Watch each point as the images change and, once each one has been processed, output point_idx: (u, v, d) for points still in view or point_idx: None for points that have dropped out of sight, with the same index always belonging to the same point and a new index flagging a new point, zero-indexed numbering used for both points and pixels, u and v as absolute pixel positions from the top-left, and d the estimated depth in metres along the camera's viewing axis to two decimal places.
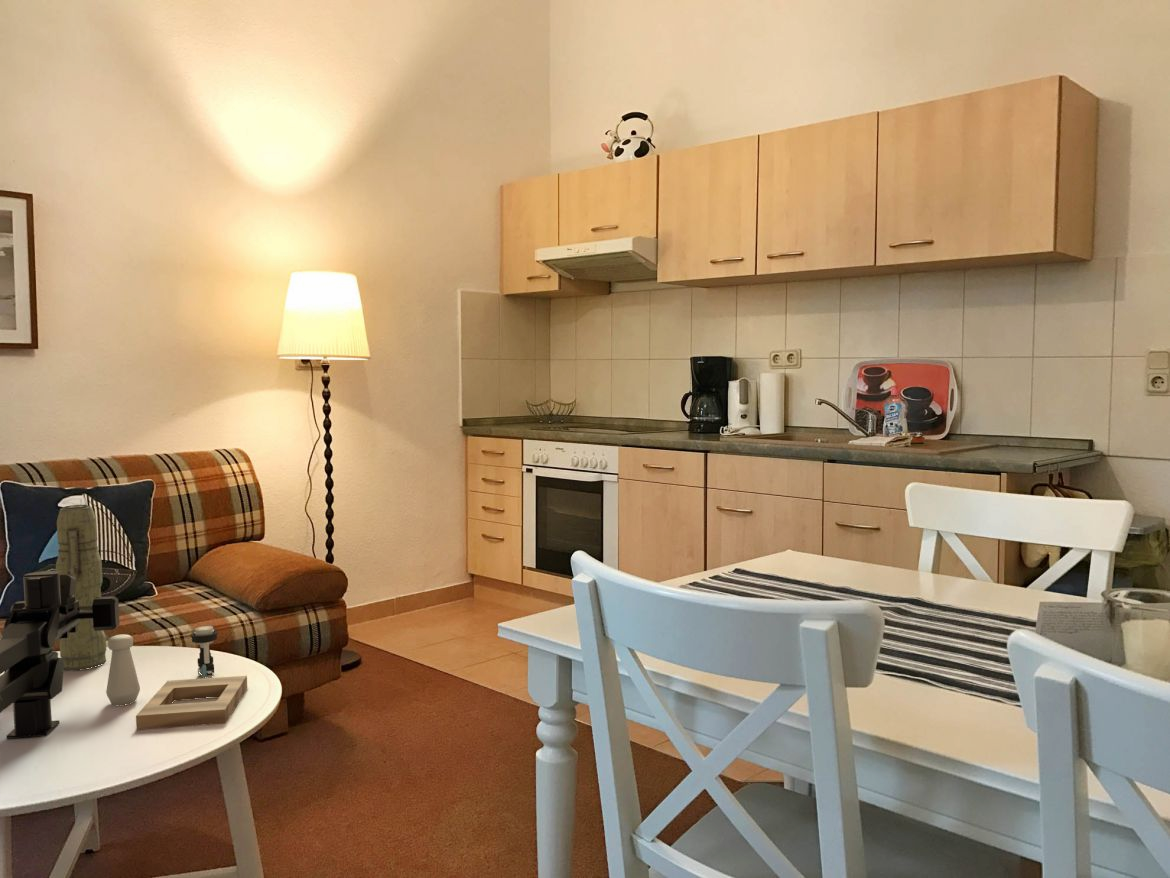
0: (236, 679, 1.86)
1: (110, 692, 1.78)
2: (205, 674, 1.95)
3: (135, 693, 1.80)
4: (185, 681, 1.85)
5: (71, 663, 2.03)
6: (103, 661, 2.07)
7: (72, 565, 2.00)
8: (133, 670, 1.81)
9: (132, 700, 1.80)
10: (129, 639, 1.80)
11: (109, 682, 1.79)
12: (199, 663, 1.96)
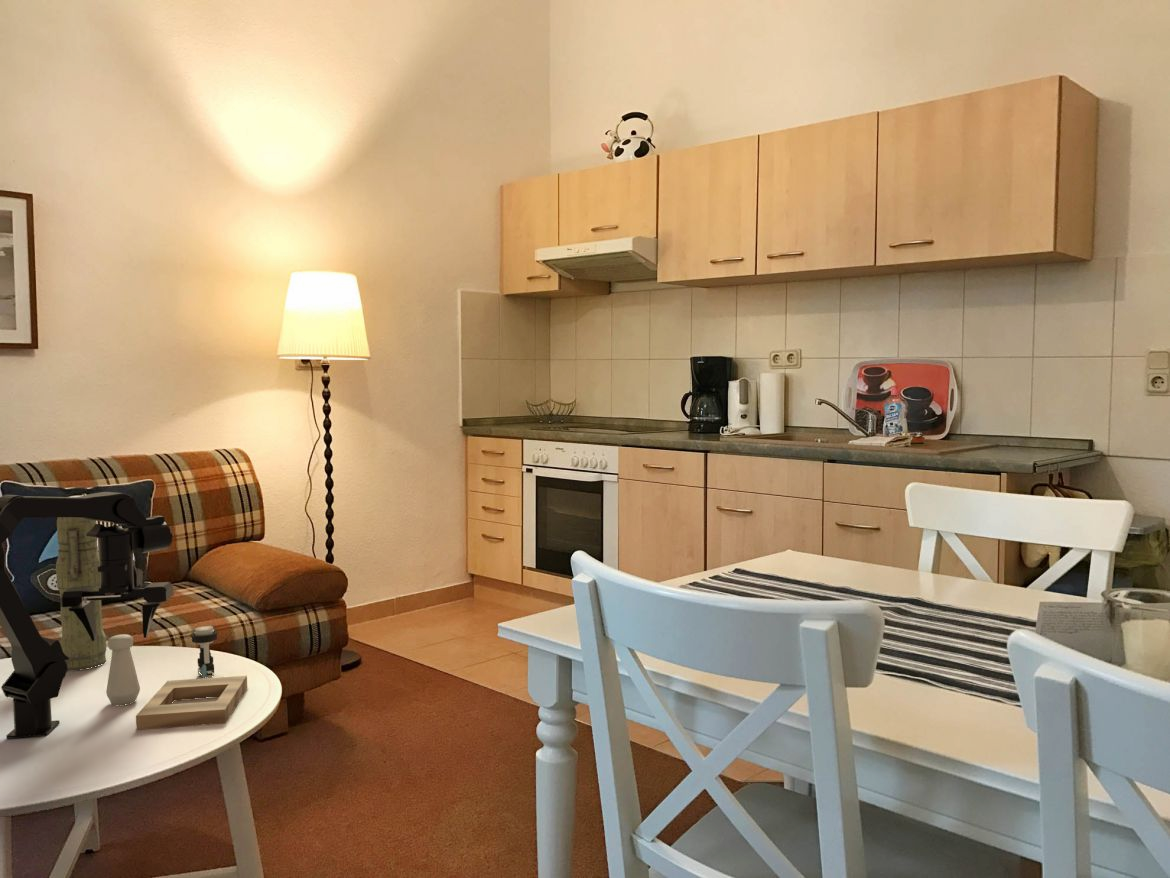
0: (236, 679, 1.86)
1: (110, 692, 1.78)
2: (205, 674, 1.95)
3: (135, 693, 1.80)
4: (185, 681, 1.85)
5: (71, 663, 2.03)
6: (103, 661, 2.07)
7: (72, 565, 2.00)
8: (133, 670, 1.81)
9: (132, 700, 1.80)
10: (129, 639, 1.80)
11: (109, 682, 1.79)
12: (199, 663, 1.96)
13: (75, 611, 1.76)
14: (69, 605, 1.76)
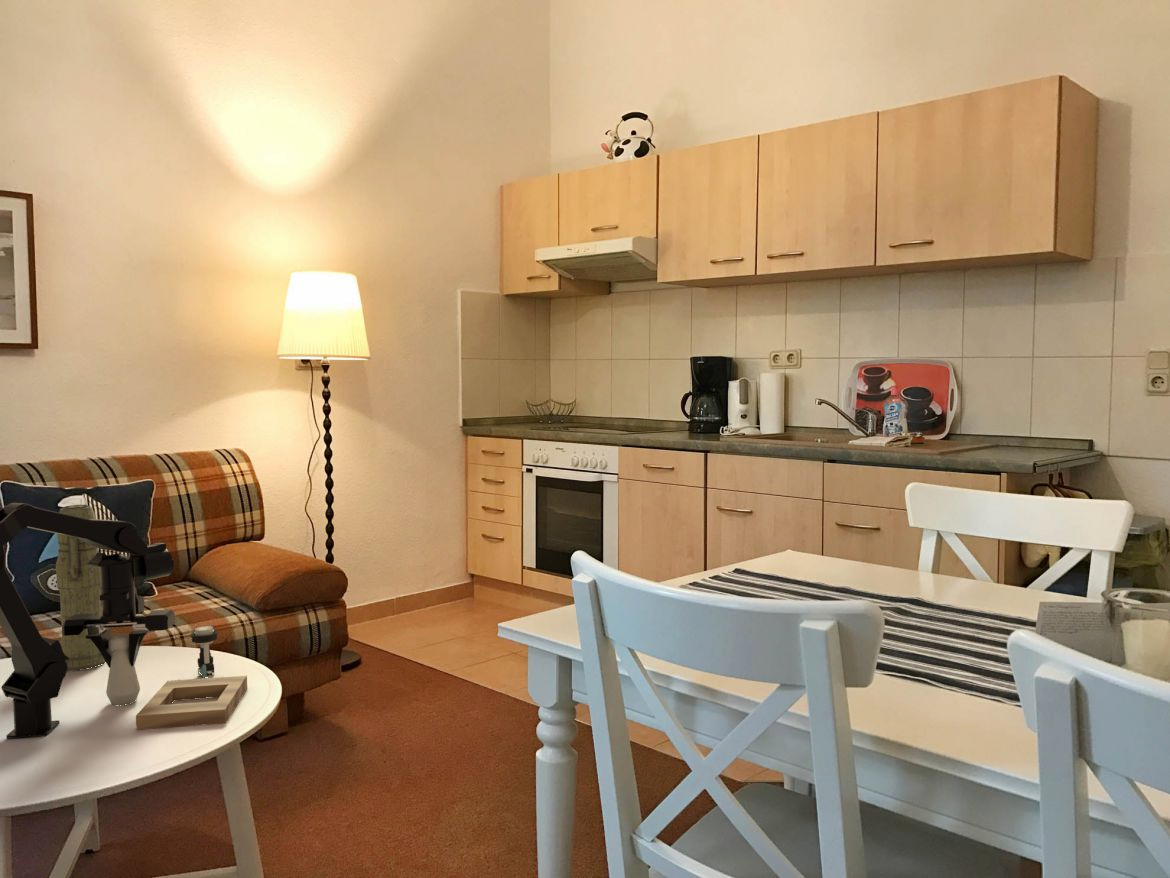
0: (236, 679, 1.86)
1: (110, 692, 1.78)
2: (205, 674, 1.95)
3: (135, 693, 1.80)
4: (185, 681, 1.85)
5: (71, 663, 2.03)
6: (103, 661, 2.07)
7: (72, 565, 2.00)
8: (133, 670, 1.81)
9: (132, 700, 1.80)
10: None
11: (109, 682, 1.79)
12: (199, 663, 1.96)
13: (92, 638, 1.77)
14: (71, 633, 1.76)
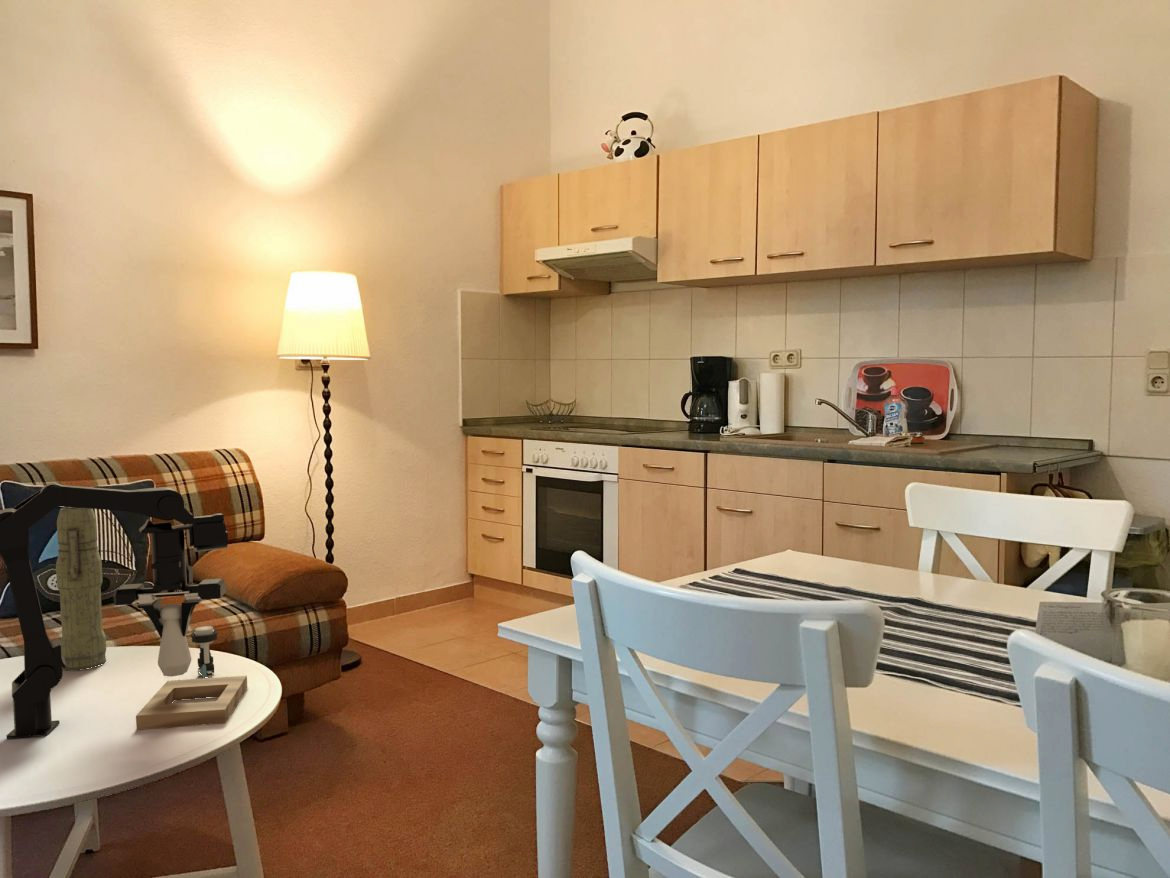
0: (236, 679, 1.86)
1: (162, 662, 1.76)
2: (205, 674, 1.95)
3: (187, 663, 1.78)
4: (185, 681, 1.85)
5: (71, 663, 2.03)
6: (103, 661, 2.07)
7: (72, 565, 2.00)
8: (185, 640, 1.78)
9: (184, 670, 1.78)
10: (181, 609, 1.77)
11: (161, 652, 1.76)
12: (199, 663, 1.96)
13: (144, 608, 1.74)
14: (123, 603, 1.73)
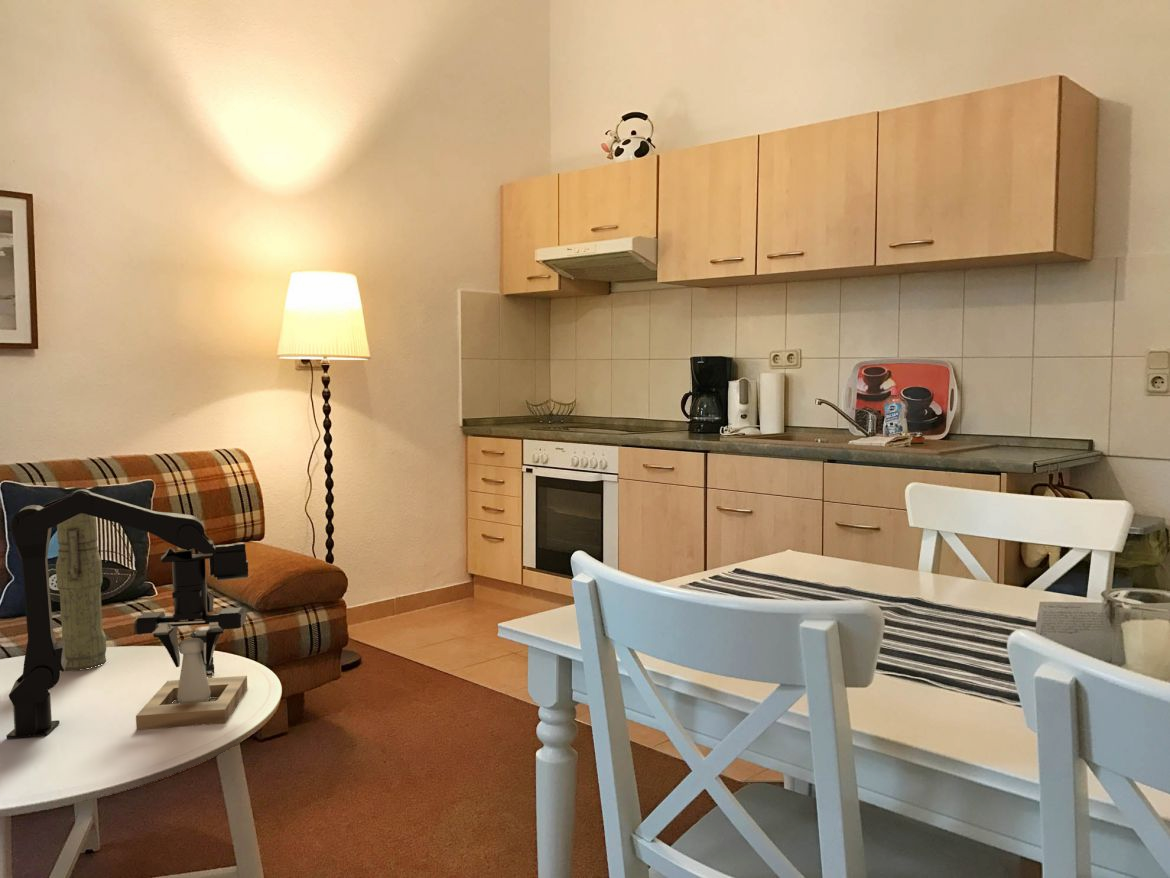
0: (236, 679, 1.86)
1: (182, 697, 1.75)
2: None
3: (207, 698, 1.77)
4: None
5: (71, 663, 2.03)
6: (103, 661, 2.07)
7: (72, 565, 2.00)
8: (204, 674, 1.77)
9: None
10: (200, 643, 1.76)
11: (181, 687, 1.75)
12: None
13: (160, 637, 1.73)
14: (143, 632, 1.72)
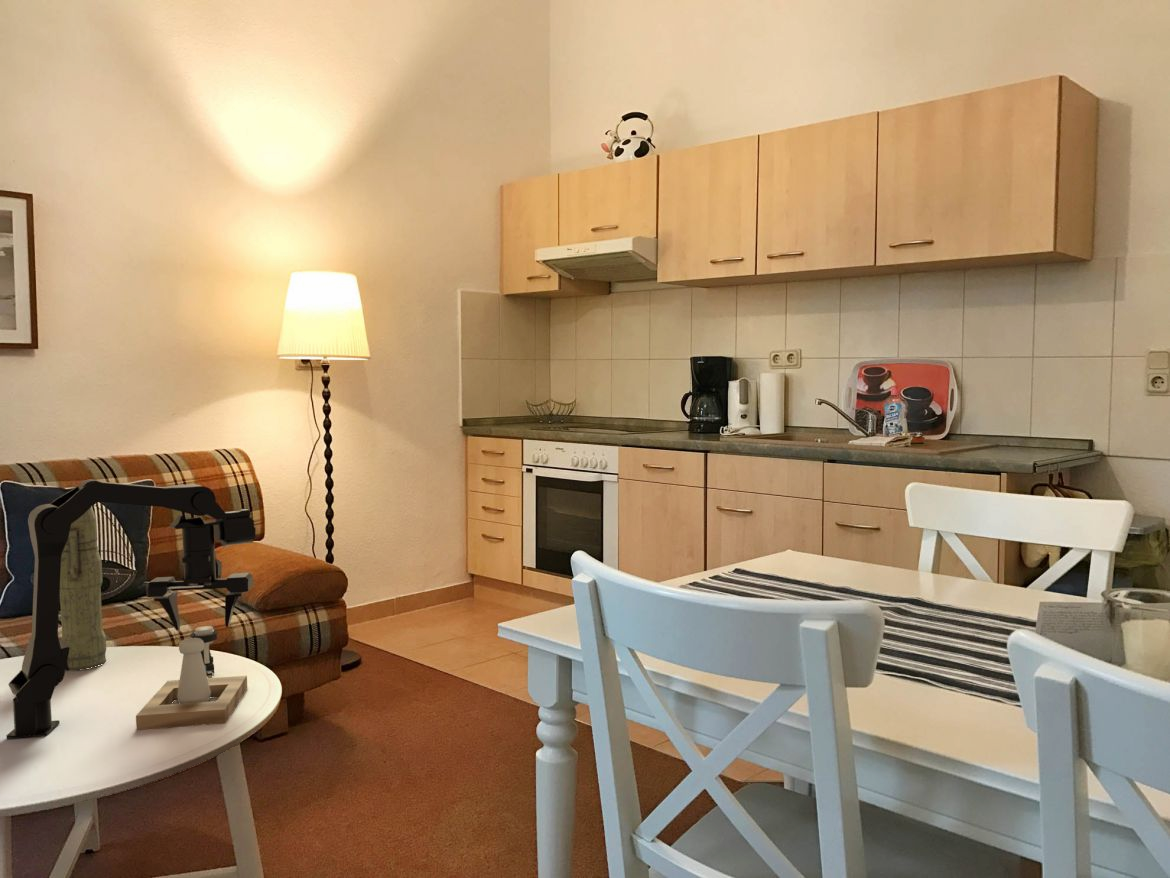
0: (236, 679, 1.86)
1: (182, 697, 1.75)
2: None
3: (207, 698, 1.77)
4: None
5: (71, 663, 2.03)
6: (103, 661, 2.07)
7: (72, 565, 2.00)
8: (204, 674, 1.77)
9: None
10: (200, 643, 1.76)
11: (181, 687, 1.75)
12: None
13: (160, 601, 1.80)
14: (155, 595, 1.80)
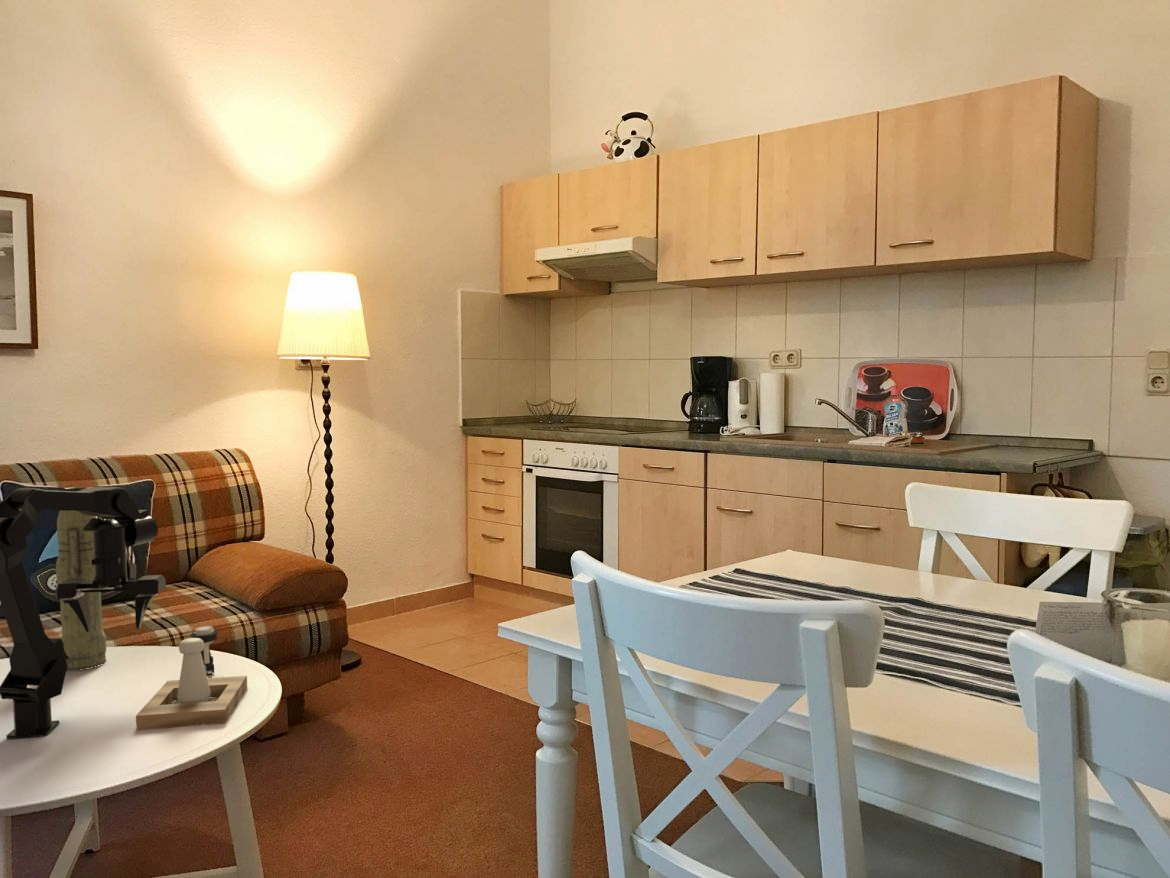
0: (236, 679, 1.86)
1: (182, 697, 1.75)
2: None
3: (207, 698, 1.77)
4: None
5: (71, 663, 2.03)
6: (103, 661, 2.07)
7: (72, 565, 2.00)
8: (204, 674, 1.77)
9: None
10: (200, 643, 1.76)
11: (181, 687, 1.75)
12: None
13: (69, 603, 1.81)
14: (64, 597, 1.80)
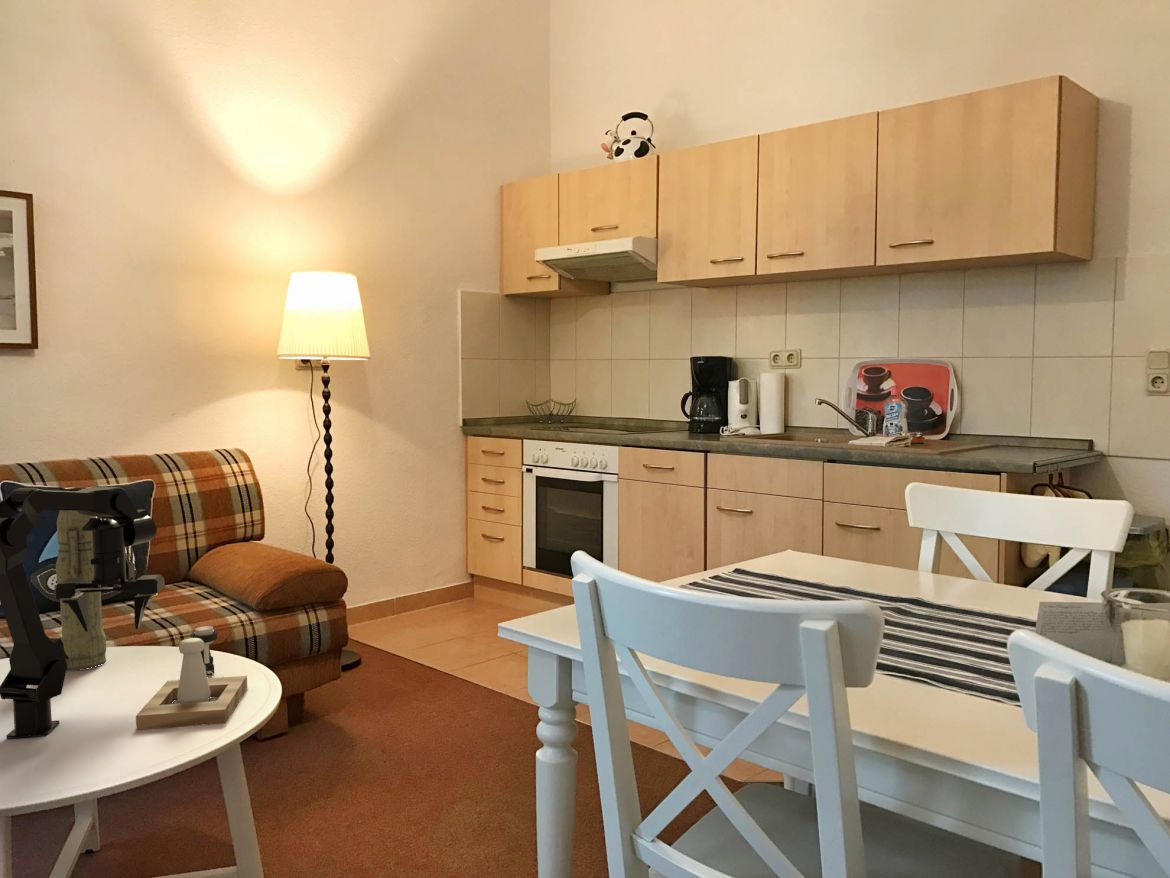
0: (236, 679, 1.86)
1: (182, 697, 1.75)
2: None
3: (207, 698, 1.77)
4: None
5: (71, 663, 2.03)
6: (103, 661, 2.07)
7: (72, 565, 2.00)
8: (204, 674, 1.77)
9: None
10: (200, 643, 1.76)
11: (181, 687, 1.75)
12: None
13: (68, 603, 1.80)
14: (63, 597, 1.80)
